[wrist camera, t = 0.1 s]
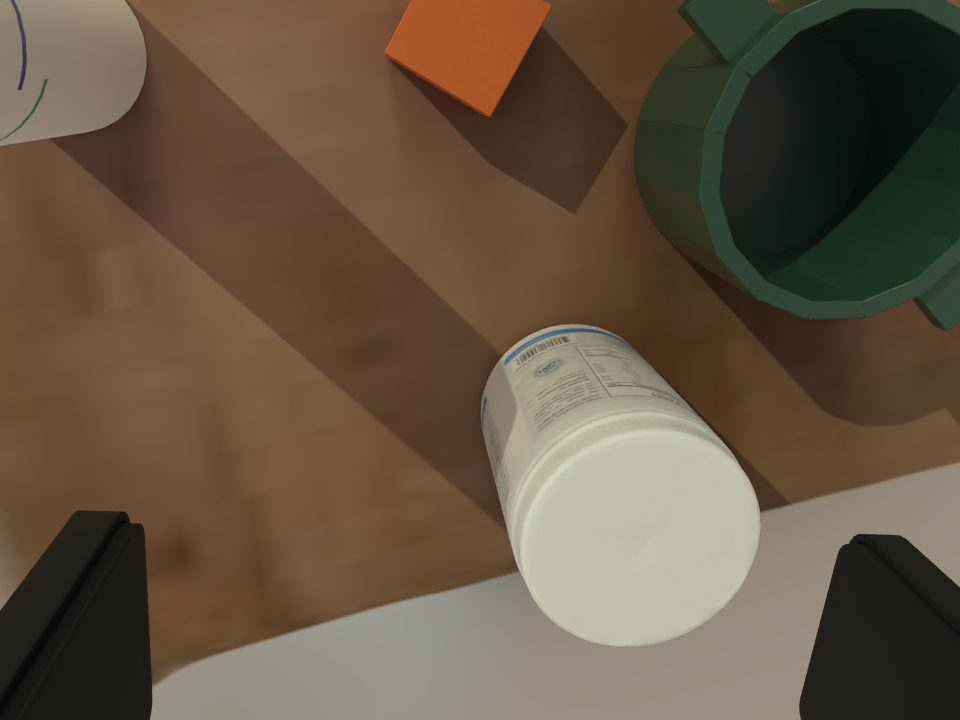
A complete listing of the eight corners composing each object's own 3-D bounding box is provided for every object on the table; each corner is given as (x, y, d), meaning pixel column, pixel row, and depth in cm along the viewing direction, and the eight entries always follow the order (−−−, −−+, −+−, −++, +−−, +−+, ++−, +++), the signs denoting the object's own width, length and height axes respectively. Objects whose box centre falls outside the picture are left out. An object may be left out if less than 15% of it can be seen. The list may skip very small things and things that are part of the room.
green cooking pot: (744, -102, 37) (855, -161, 28) (955, 182, 42) (1106, 209, 33) (544, 105, 39) (587, 111, 30) (769, 350, 44) (863, 419, 35)
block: (438, -47, 36) (444, -66, 32) (533, 15, 38) (552, 5, 33) (385, 56, 38) (384, 52, 33) (479, 113, 39) (490, 117, 34)
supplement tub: (605, 503, 46) (694, 683, 32) (450, 451, 44) (474, 620, 30) (681, 352, 44) (813, 477, 30) (521, 290, 42) (581, 393, 28)
